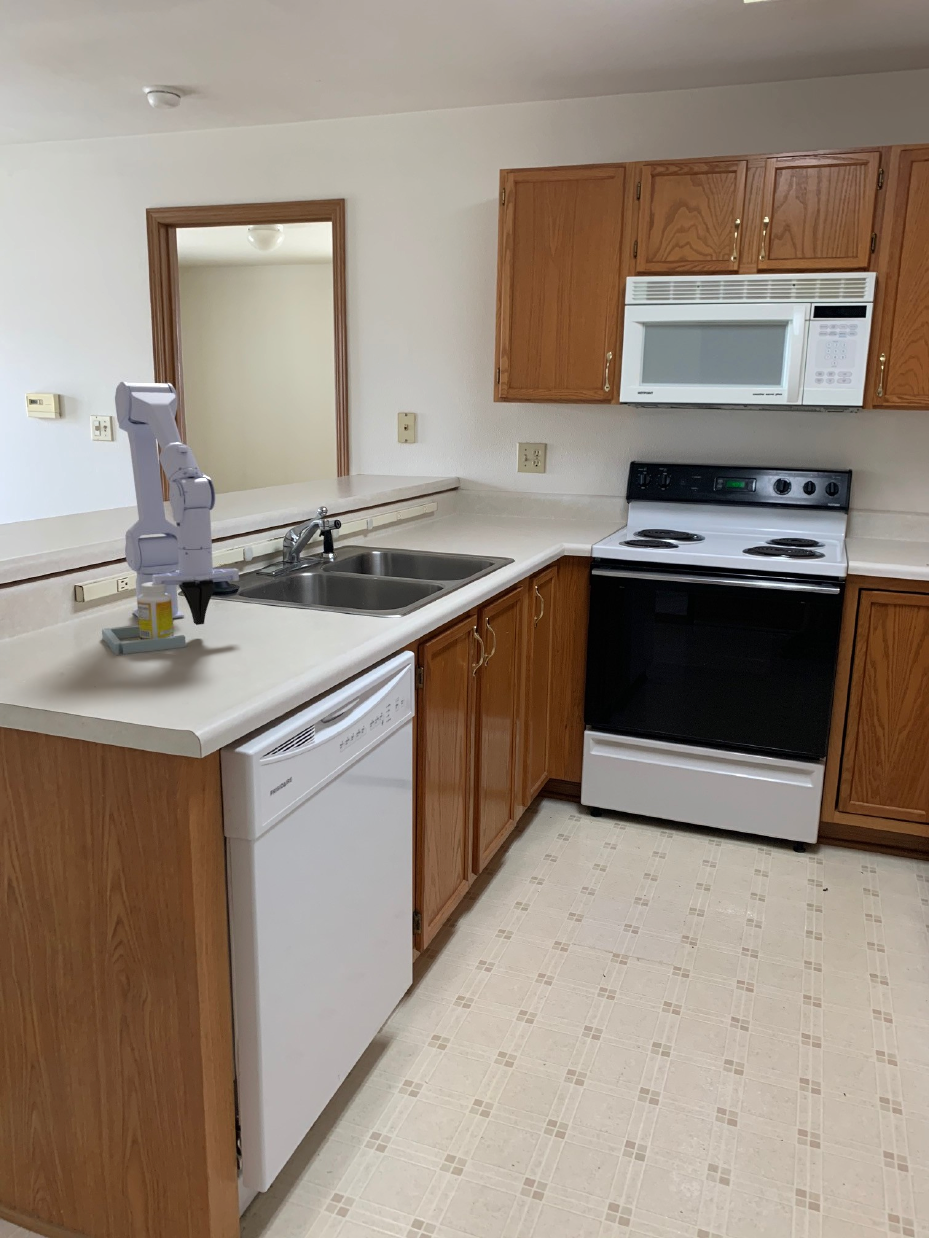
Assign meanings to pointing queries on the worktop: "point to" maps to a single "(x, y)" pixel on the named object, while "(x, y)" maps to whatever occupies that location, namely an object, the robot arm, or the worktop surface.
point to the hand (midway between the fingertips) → (198, 623)
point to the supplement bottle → (155, 612)
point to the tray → (138, 641)
